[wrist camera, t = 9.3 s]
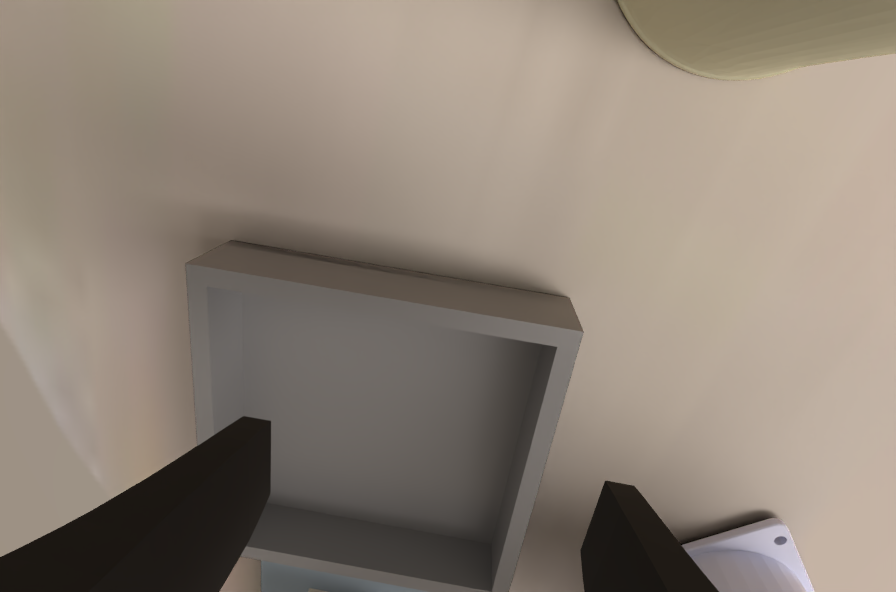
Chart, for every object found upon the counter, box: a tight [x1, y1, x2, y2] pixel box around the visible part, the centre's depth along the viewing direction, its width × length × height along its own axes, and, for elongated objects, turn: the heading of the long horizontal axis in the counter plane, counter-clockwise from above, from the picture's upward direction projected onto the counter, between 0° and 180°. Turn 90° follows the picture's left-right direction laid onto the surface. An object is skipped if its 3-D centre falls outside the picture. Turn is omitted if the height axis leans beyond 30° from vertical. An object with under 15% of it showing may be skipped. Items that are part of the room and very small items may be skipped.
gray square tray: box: [185, 240, 583, 592], centre depth 20 cm, size 13×13×3 cm
